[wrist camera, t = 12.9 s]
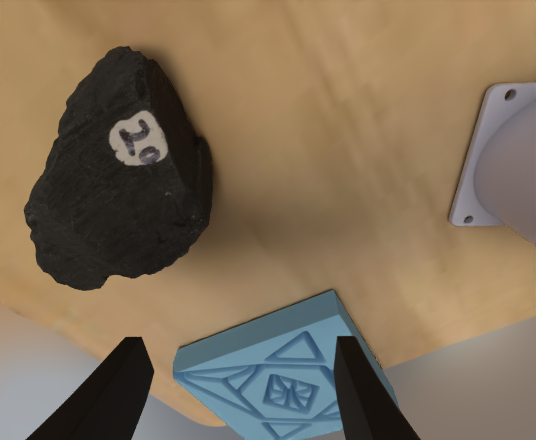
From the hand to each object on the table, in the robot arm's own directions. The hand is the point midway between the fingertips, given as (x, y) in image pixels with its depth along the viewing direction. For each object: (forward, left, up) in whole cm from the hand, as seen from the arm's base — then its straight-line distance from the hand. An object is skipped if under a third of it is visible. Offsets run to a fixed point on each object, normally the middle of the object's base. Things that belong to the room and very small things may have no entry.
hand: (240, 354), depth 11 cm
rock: (+6, -4, -10) cm, 12 cm away
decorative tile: (+1, +14, -14) cm, 19 cm away
